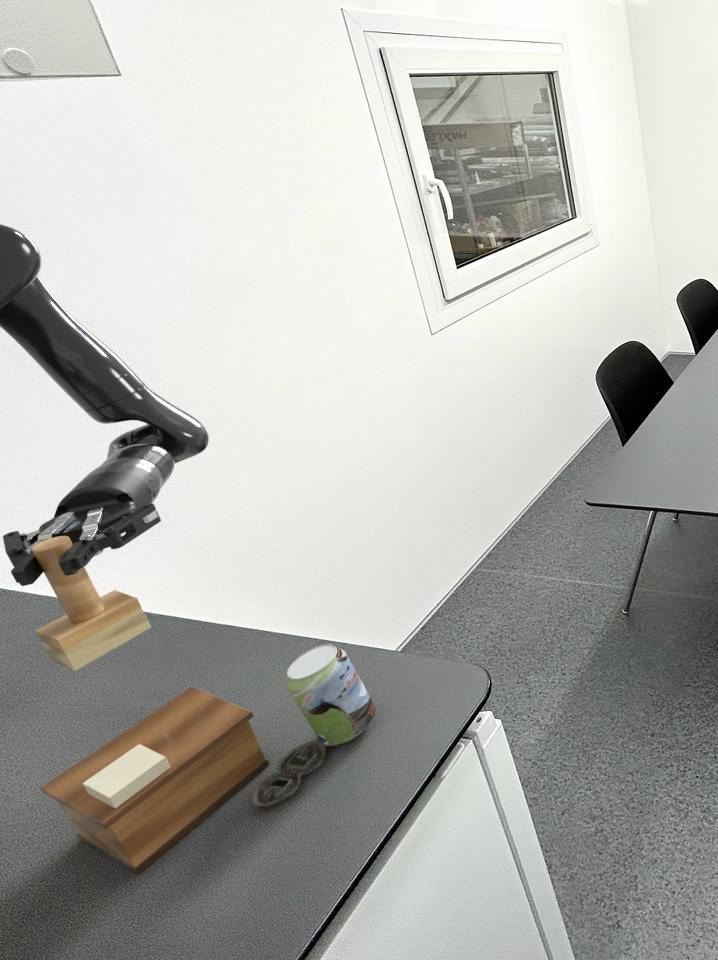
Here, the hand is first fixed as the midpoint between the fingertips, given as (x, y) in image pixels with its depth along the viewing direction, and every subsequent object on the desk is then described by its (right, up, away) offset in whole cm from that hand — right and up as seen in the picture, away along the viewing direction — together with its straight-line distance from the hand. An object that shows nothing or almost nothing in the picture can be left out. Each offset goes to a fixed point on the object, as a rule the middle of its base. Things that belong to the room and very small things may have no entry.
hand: (45, 573), depth 68 cm
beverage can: (+25, -24, +10) cm, 36 cm away
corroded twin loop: (+23, -26, +5) cm, 35 cm away
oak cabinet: (+12, -27, +2) cm, 29 cm away
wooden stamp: (-1, -11, +7) cm, 13 cm away
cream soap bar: (+14, -20, -4) cm, 25 cm away
